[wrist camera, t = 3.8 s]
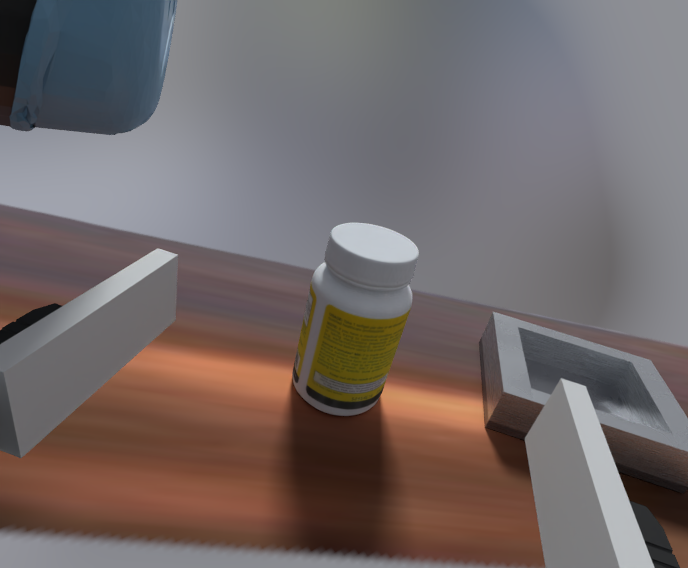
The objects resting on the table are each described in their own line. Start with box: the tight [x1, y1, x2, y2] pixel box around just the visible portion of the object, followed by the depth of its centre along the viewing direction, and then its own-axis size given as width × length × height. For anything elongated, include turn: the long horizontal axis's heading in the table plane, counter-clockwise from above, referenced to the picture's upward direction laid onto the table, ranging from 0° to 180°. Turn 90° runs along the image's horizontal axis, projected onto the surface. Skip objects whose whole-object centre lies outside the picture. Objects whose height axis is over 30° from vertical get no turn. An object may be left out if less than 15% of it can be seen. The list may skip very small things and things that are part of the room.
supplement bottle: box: [293, 223, 419, 416], centre depth 21 cm, size 5×5×8 cm
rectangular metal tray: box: [479, 312, 688, 494], centre depth 25 cm, size 10×8×2 cm
